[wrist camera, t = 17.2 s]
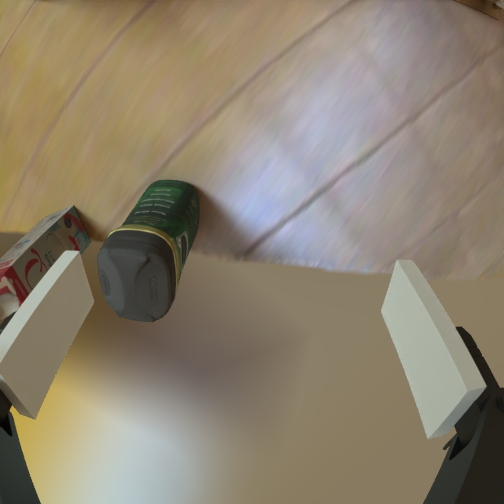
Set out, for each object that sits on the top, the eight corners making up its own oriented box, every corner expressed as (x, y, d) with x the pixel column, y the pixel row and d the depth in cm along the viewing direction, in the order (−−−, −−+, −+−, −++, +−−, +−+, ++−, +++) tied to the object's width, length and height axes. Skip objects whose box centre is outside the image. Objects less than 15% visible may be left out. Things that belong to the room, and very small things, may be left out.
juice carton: (73, 205, 44) (-13, 291, 25) (91, 242, 47) (20, 338, 28) (45, 216, 45) (-37, 299, 26) (62, 250, 48) (-8, 341, 29)
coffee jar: (144, 176, 42) (83, 243, 26) (201, 179, 42) (167, 251, 26) (147, 238, 47) (100, 323, 31) (199, 243, 47) (172, 334, 31)
